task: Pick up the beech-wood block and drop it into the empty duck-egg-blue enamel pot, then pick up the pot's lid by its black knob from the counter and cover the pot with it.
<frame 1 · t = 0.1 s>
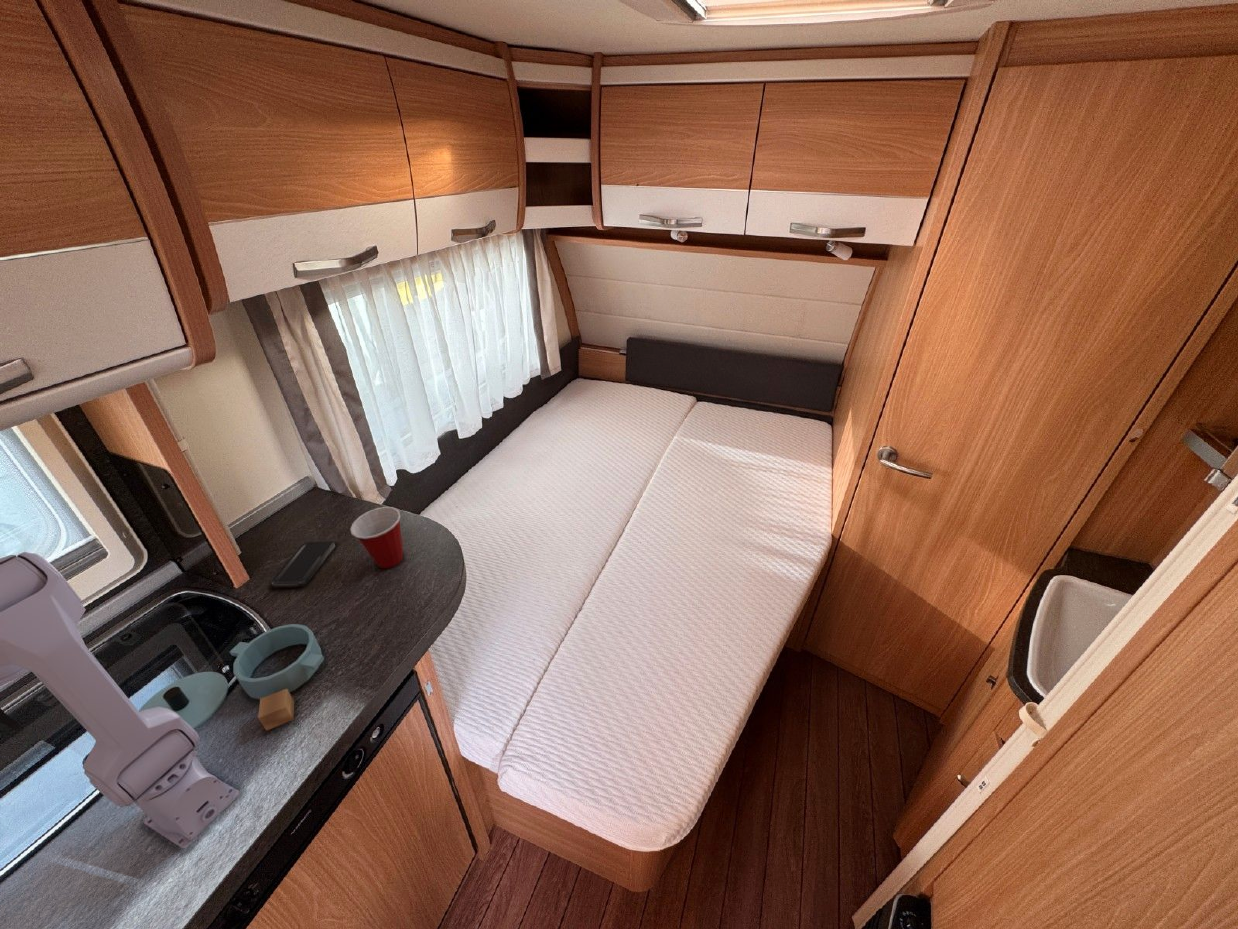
hand: (46, 704, 80), 10 cm above the table, tool pointing down, fingers open, 7 cm apart
plastic cup: (389, 561, 121), on the table
pot: (285, 670, 95), on the table
lid: (182, 706, 89), point 1 cm above the table
block: (281, 717, 87), on the table
phone: (306, 565, 121), on the table
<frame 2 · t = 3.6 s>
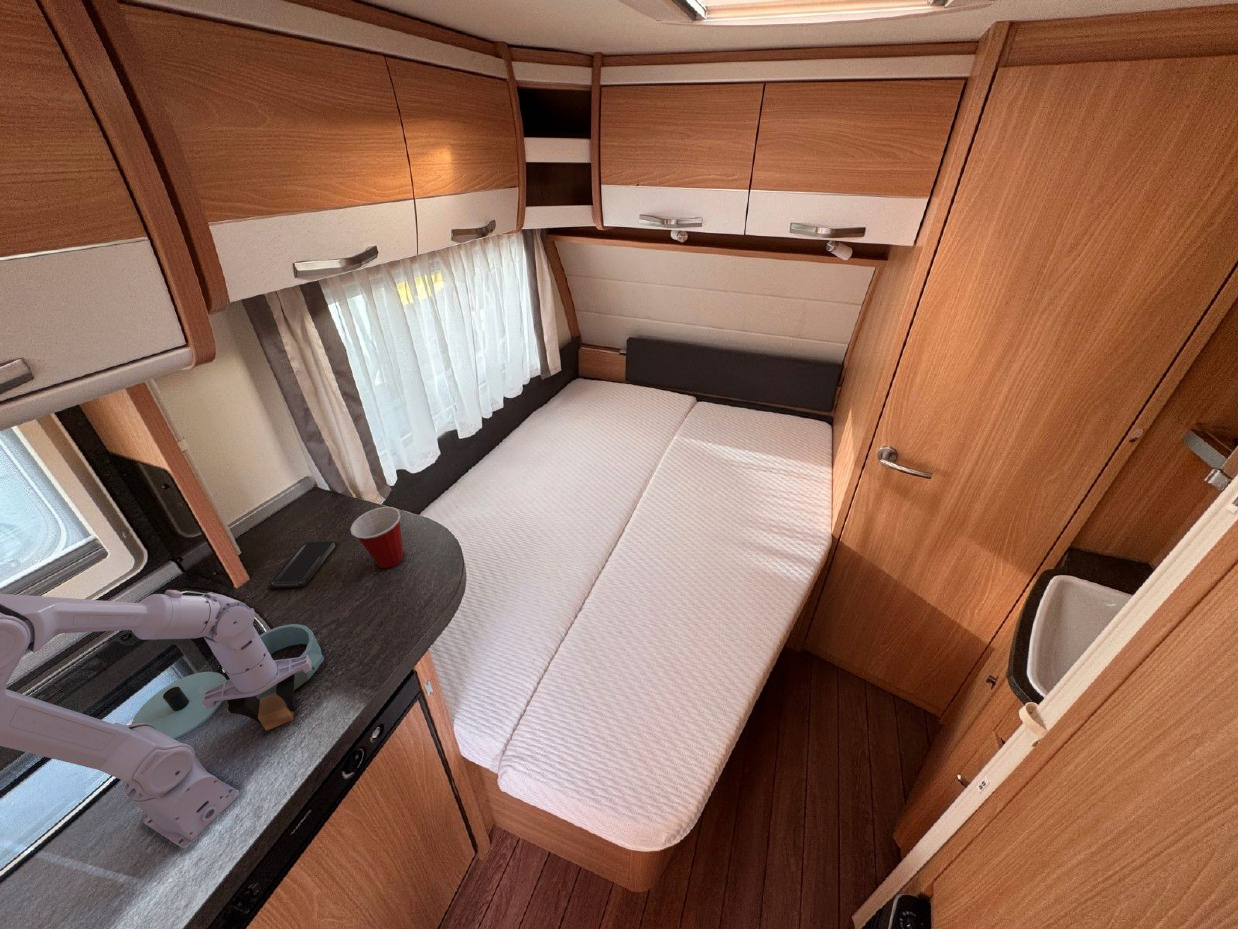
hand: (278, 712, 86), 1 cm above the table, tool pointing down, fingers closed on block, 4 cm apart
block: (281, 717, 87), on the table, touching gripper
everything else where it was.
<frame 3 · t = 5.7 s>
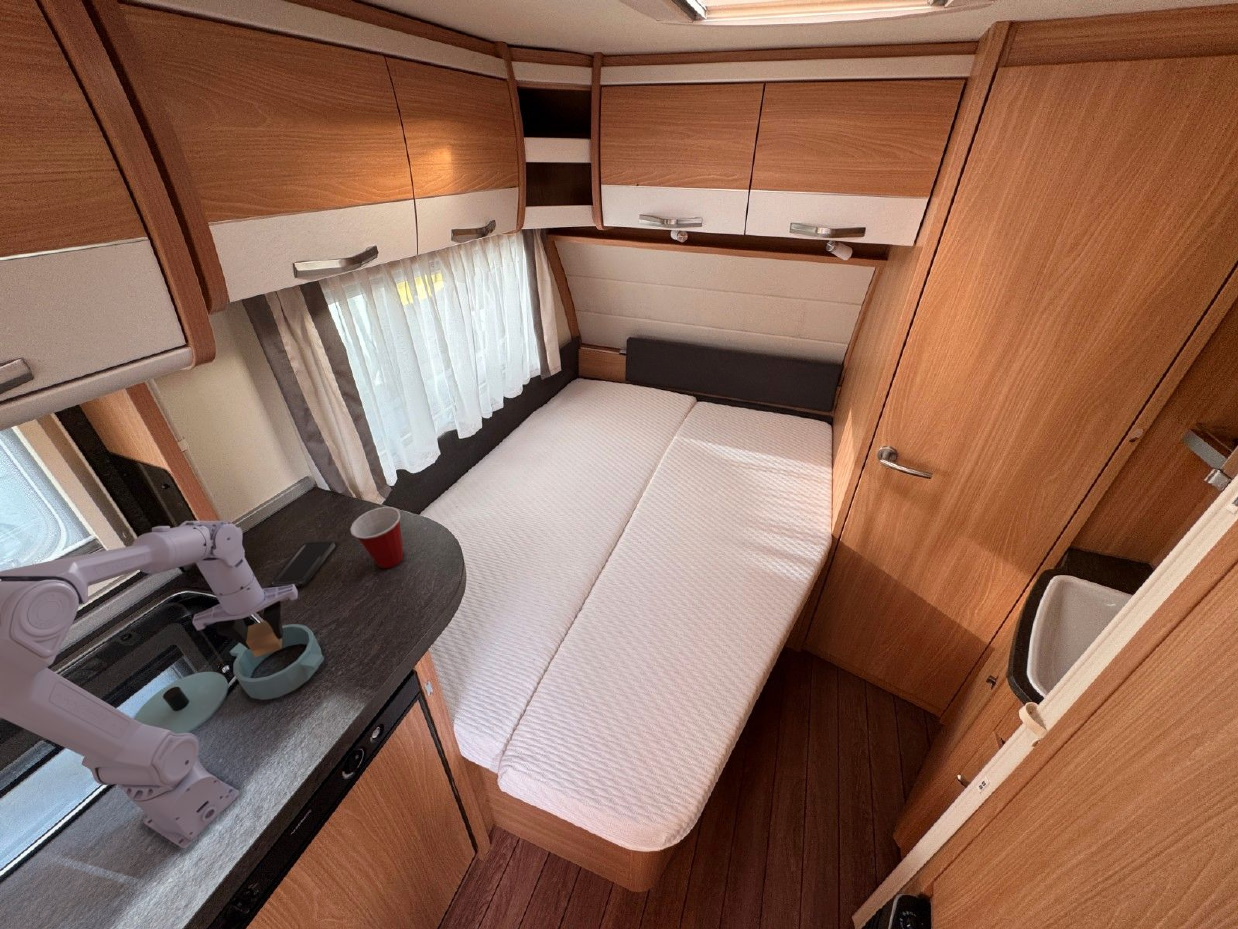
hand: (266, 639, 90), 9 cm above the table, tool pointing down, fingers closed on block, 4 cm apart
block: (269, 645, 91), point 8 cm above the table, touching gripper
everything else where it was.
when the fingers open (2 cm above the table, at t = 8.0 s): block stays where it is, resting on pot.
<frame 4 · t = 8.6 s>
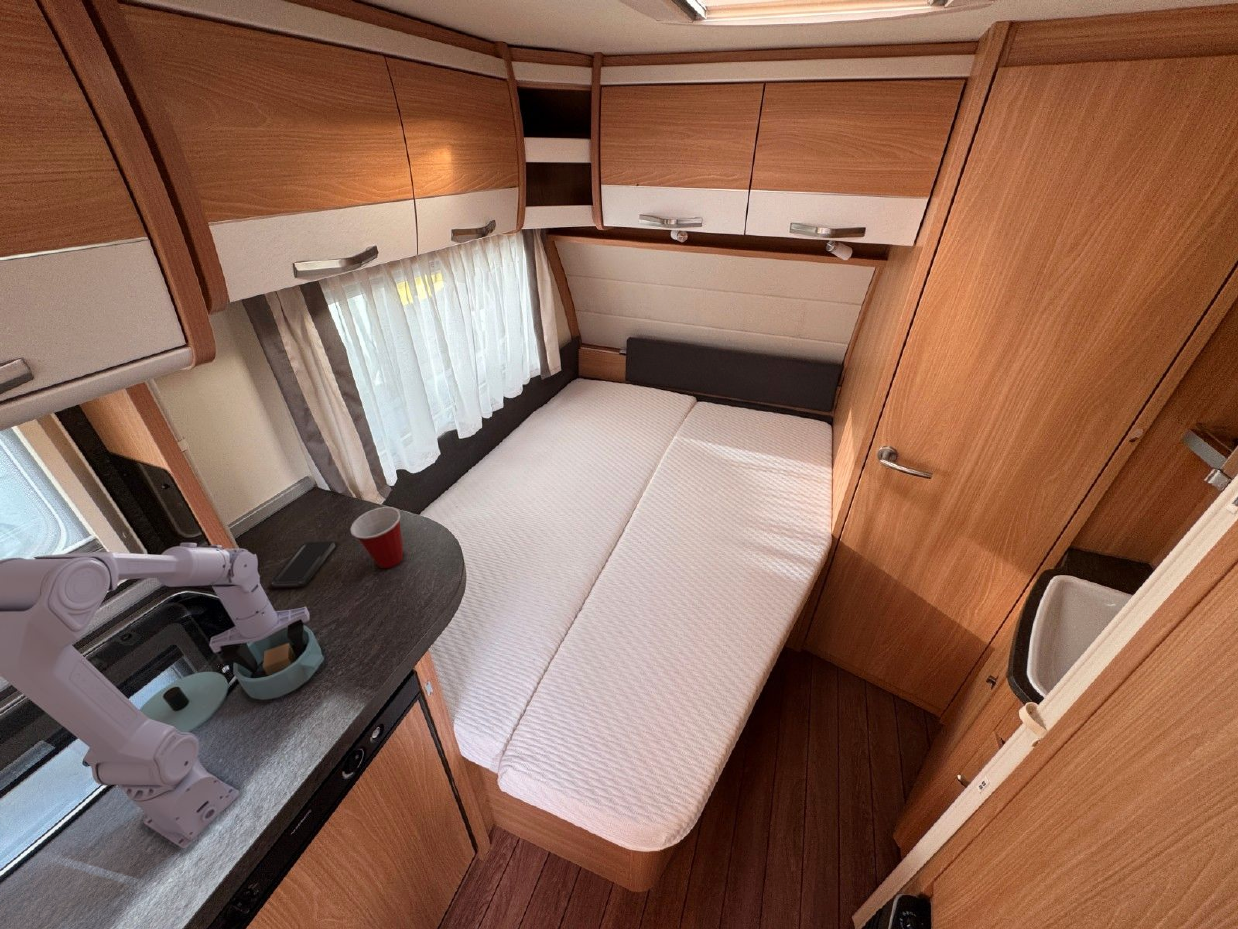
hand: (279, 660, 94), 3 cm above the table, tool pointing down, fingers open, 7 cm apart
block: (284, 669, 95), resting on pot
everything else where it was.
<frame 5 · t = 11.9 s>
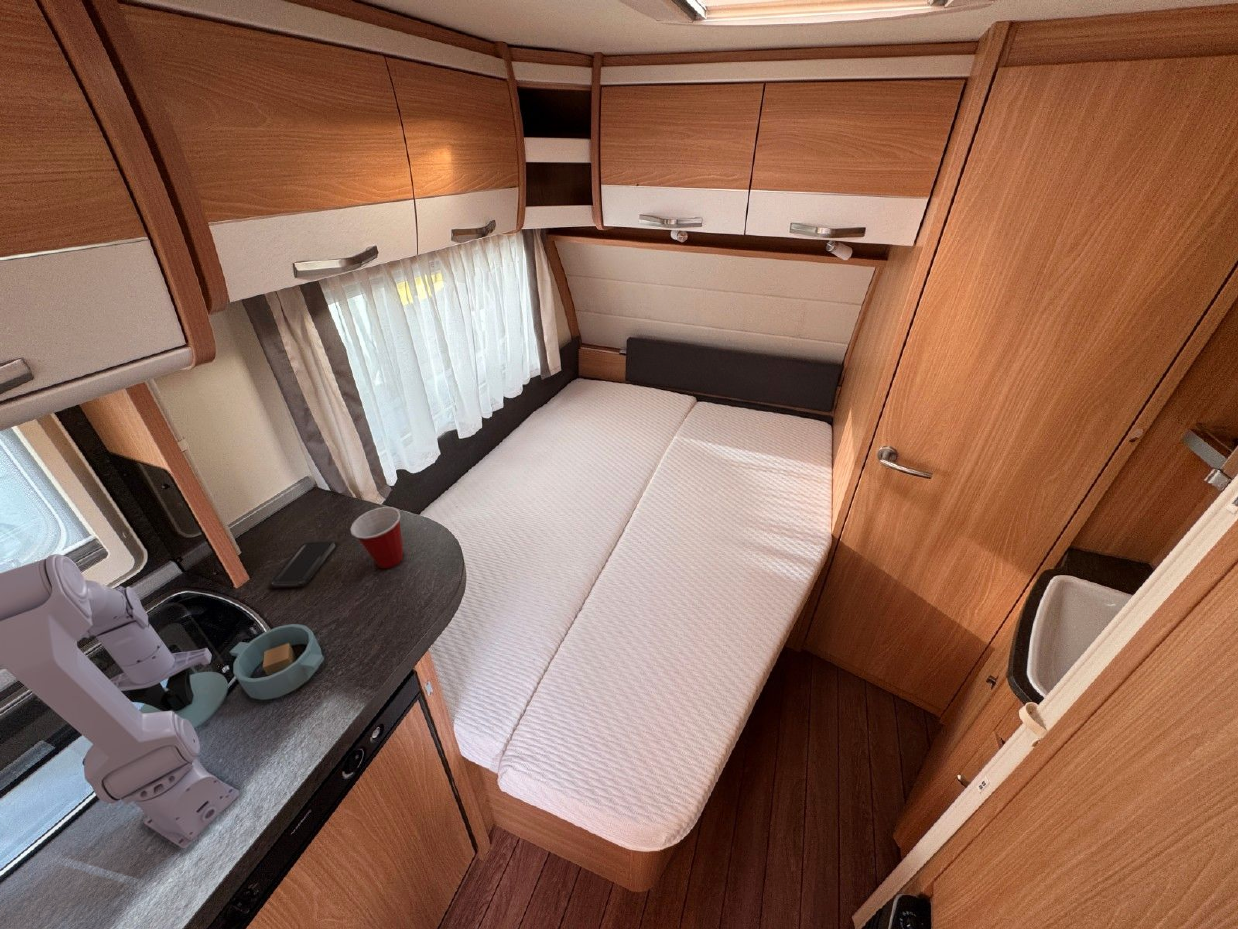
hand: (180, 704, 88), 1 cm above the table, tool pointing down, fingers closed on lid, 2 cm apart
lid: (182, 707, 89), point 1 cm above the table, touching gripper
everything else where it was.
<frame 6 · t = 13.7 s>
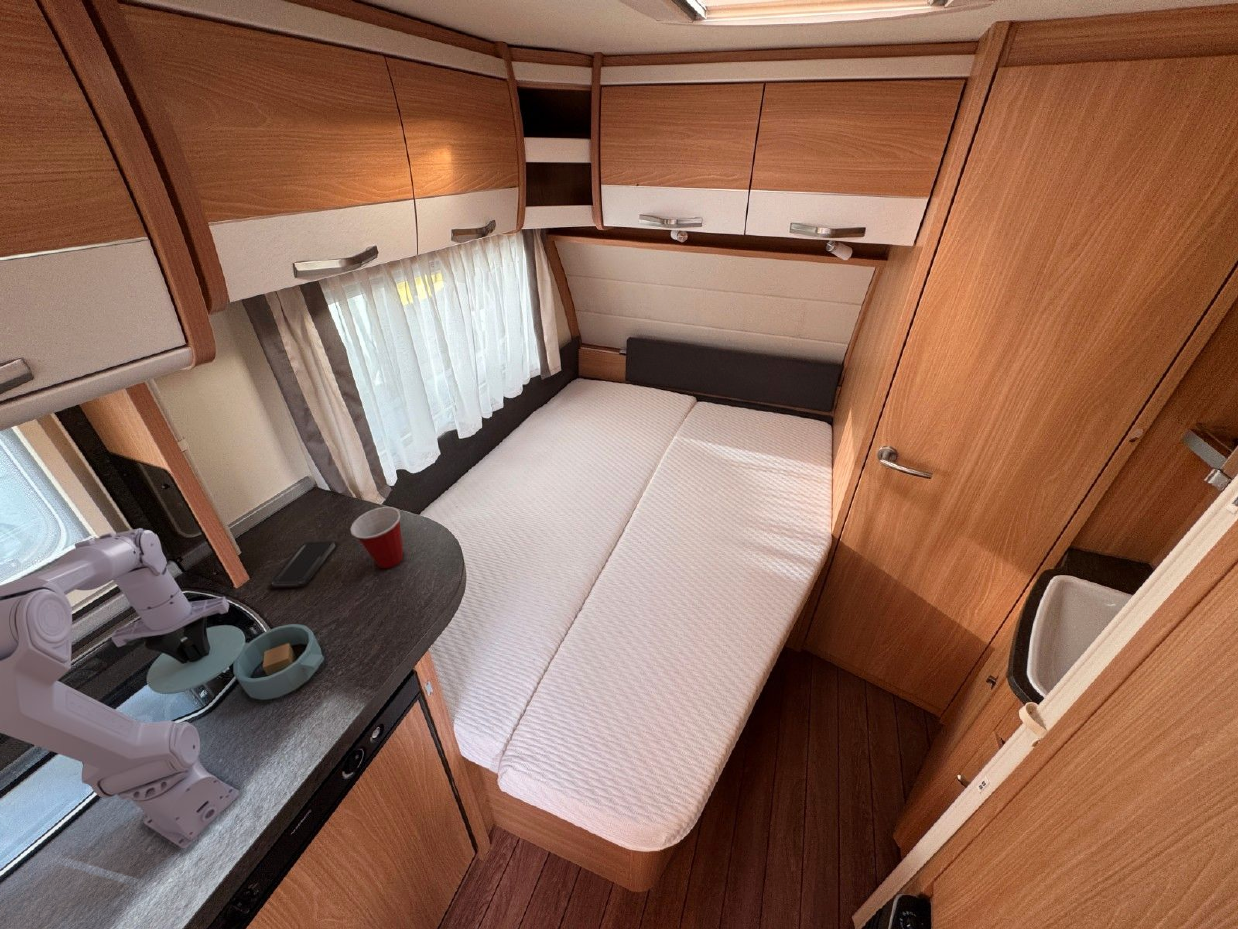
hand: (196, 655, 86), 10 cm above the table, tool pointing down, fingers closed on lid, 2 cm apart
lid: (198, 658, 87), point 10 cm above the table, touching gripper
everything else where it was.
when the fingers open (6 cm above the table, at t = 16.0 s): lid stays where it is, resting on pot.
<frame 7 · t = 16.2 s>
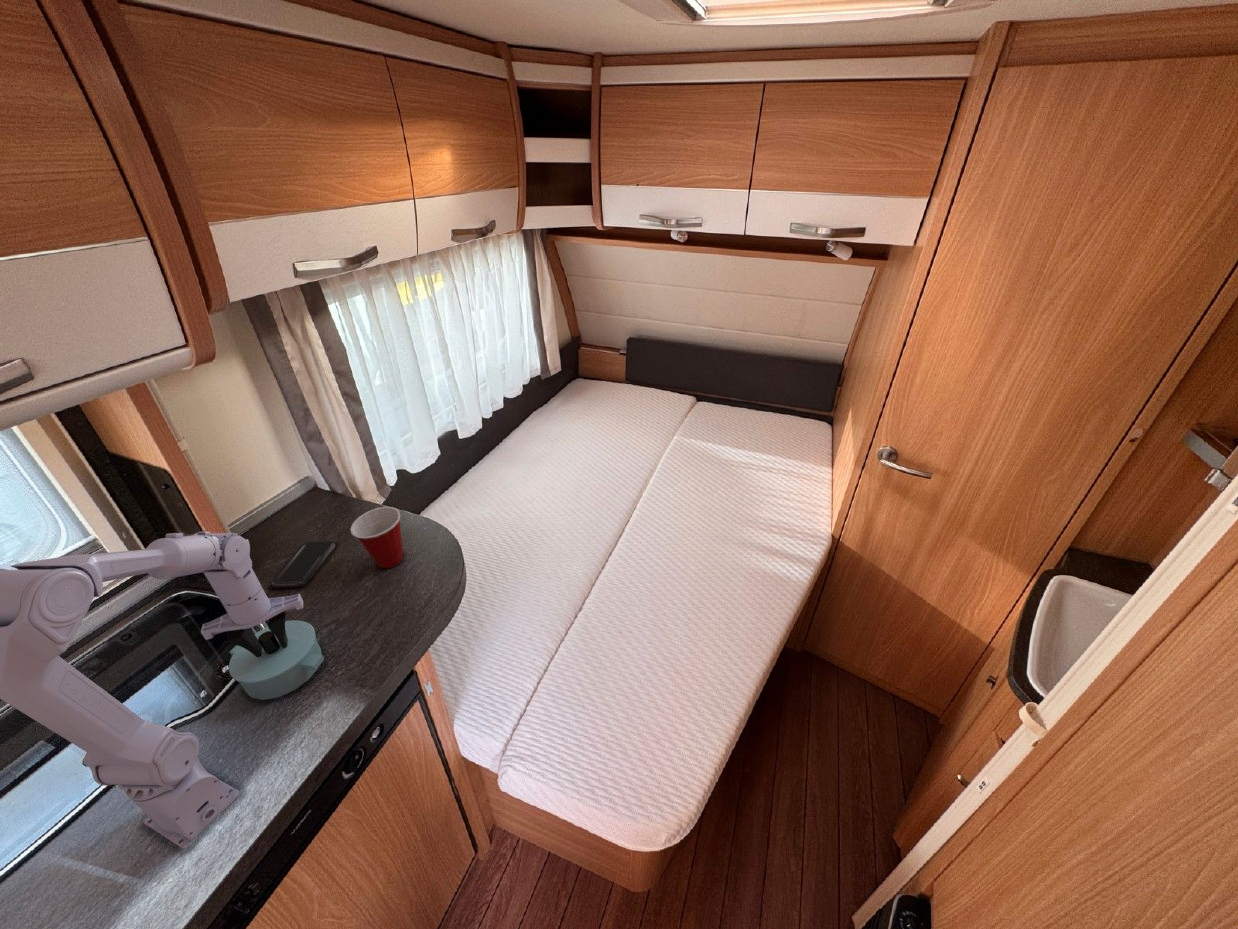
hand: (272, 648, 92), 6 cm above the table, tool pointing down, fingers open, 3 cm apart
lid: (274, 651, 93), point 5 cm above the table, touching pot
everything else where it was.
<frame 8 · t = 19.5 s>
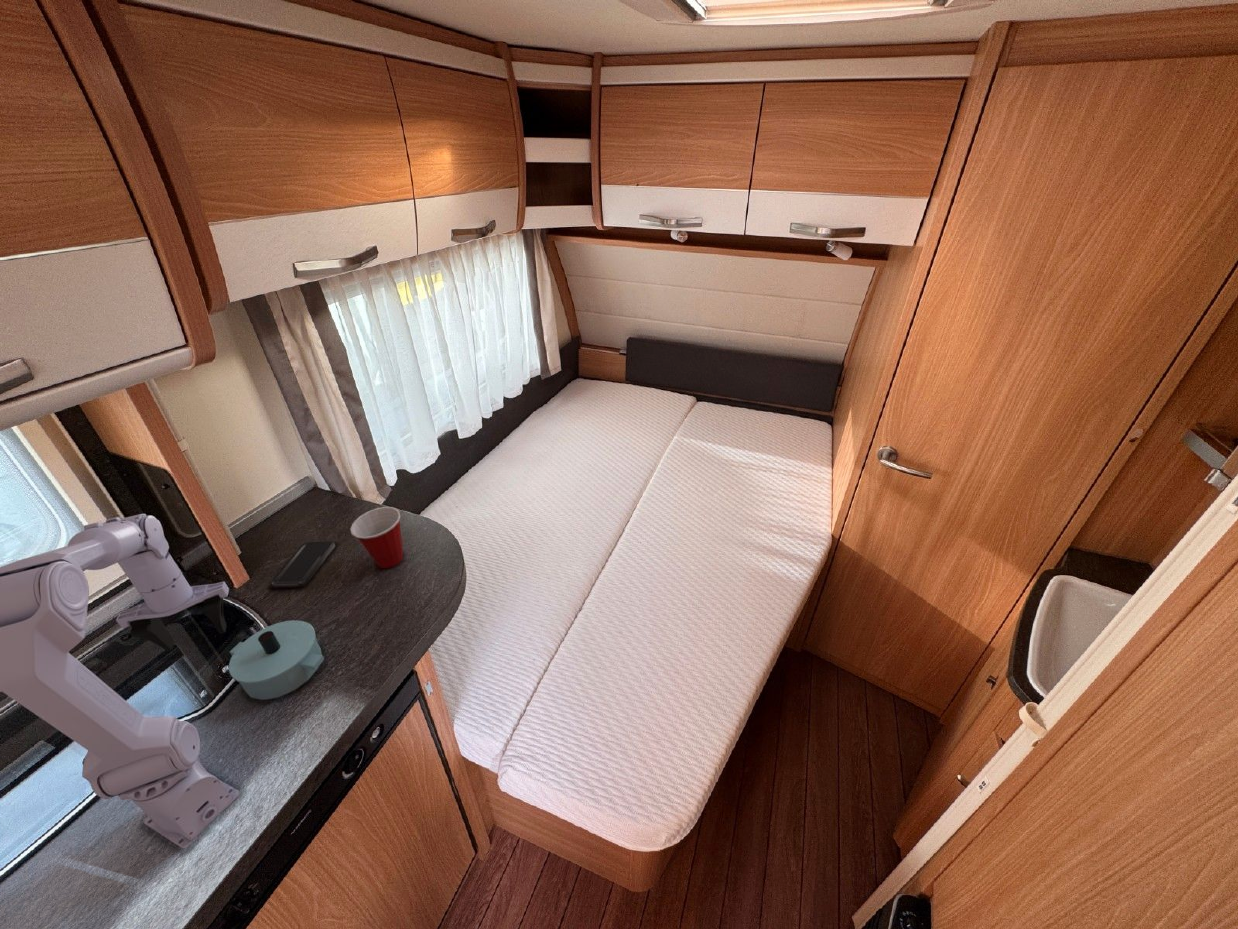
hand: (197, 638, 89), 10 cm above the table, tool pointing down, fingers open, 7 cm apart
nothing on the table moved.
at the end: block inside the target area in the pot (0.0 cm from its centre), point 0.4 cm above the pot's base; lid 0.1 cm off-centre on the pot, point 5.4 cm above the pot's base; lid tilted 0° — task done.
